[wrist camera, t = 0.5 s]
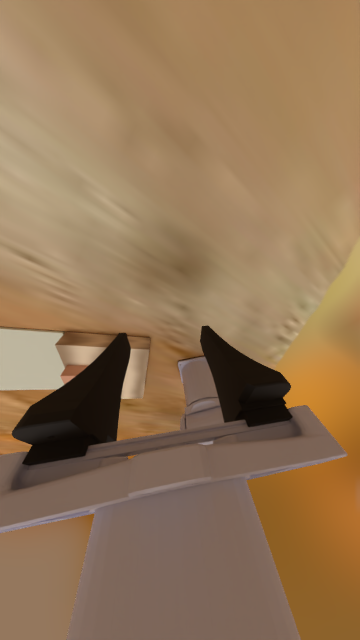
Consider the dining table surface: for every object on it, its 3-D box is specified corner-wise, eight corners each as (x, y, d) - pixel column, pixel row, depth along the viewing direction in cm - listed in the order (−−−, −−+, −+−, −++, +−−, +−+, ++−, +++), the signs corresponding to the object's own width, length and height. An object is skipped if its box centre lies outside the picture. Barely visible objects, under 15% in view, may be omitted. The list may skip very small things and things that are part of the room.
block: (105, 365, 24) (101, 376, 22) (108, 388, 28) (105, 398, 27) (67, 365, 23) (60, 375, 21) (76, 389, 27) (71, 399, 25)
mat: (64, 331, 22) (62, 333, 22) (83, 387, 32) (82, 388, 32) (-68, 322, 18) (-72, 323, 18) (0, 388, 28) (-1, 390, 28)
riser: (150, 337, 25) (149, 349, 23) (143, 386, 35) (142, 398, 33) (66, 331, 22) (54, 344, 20) (85, 387, 32) (79, 400, 30)
